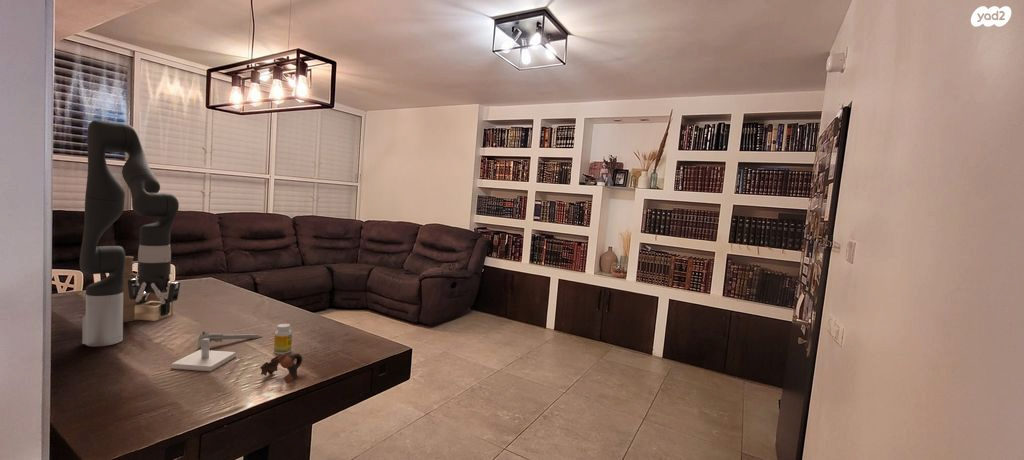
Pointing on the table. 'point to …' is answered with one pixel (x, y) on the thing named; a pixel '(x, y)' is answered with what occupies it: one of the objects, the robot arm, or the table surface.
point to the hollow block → (149, 311)
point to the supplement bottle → (283, 339)
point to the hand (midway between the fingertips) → (153, 314)
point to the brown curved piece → (285, 363)
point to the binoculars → (131, 303)
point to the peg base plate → (204, 359)
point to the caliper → (224, 337)
